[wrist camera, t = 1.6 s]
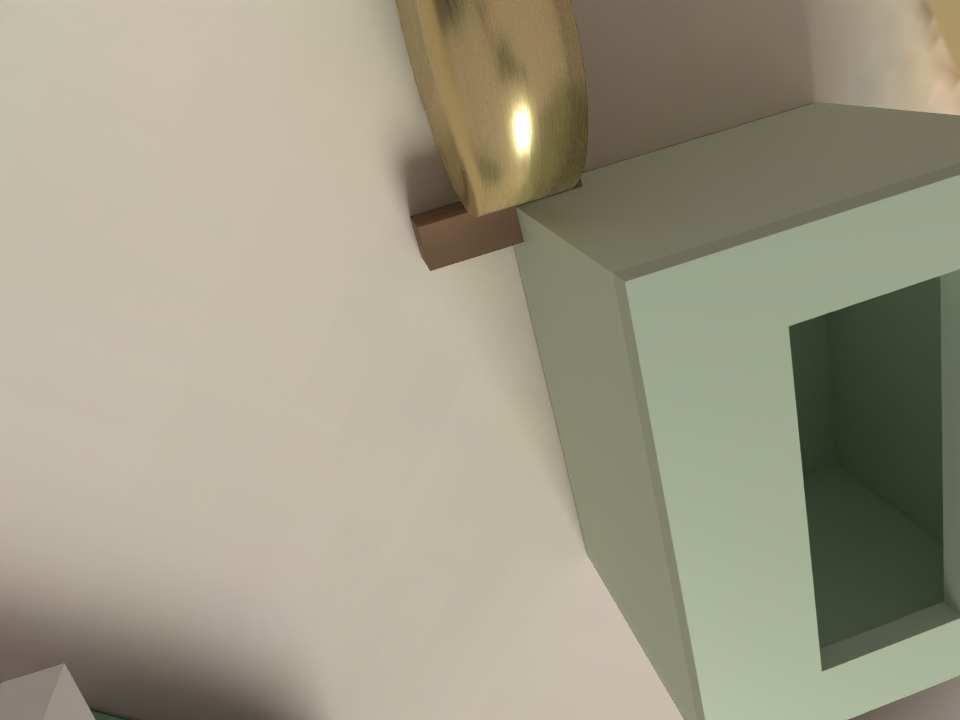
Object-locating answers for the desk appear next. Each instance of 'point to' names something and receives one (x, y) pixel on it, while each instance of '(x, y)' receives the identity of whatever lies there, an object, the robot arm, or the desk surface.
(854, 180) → the box
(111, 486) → the desk surface
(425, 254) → the cradle
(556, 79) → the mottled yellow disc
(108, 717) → the box
